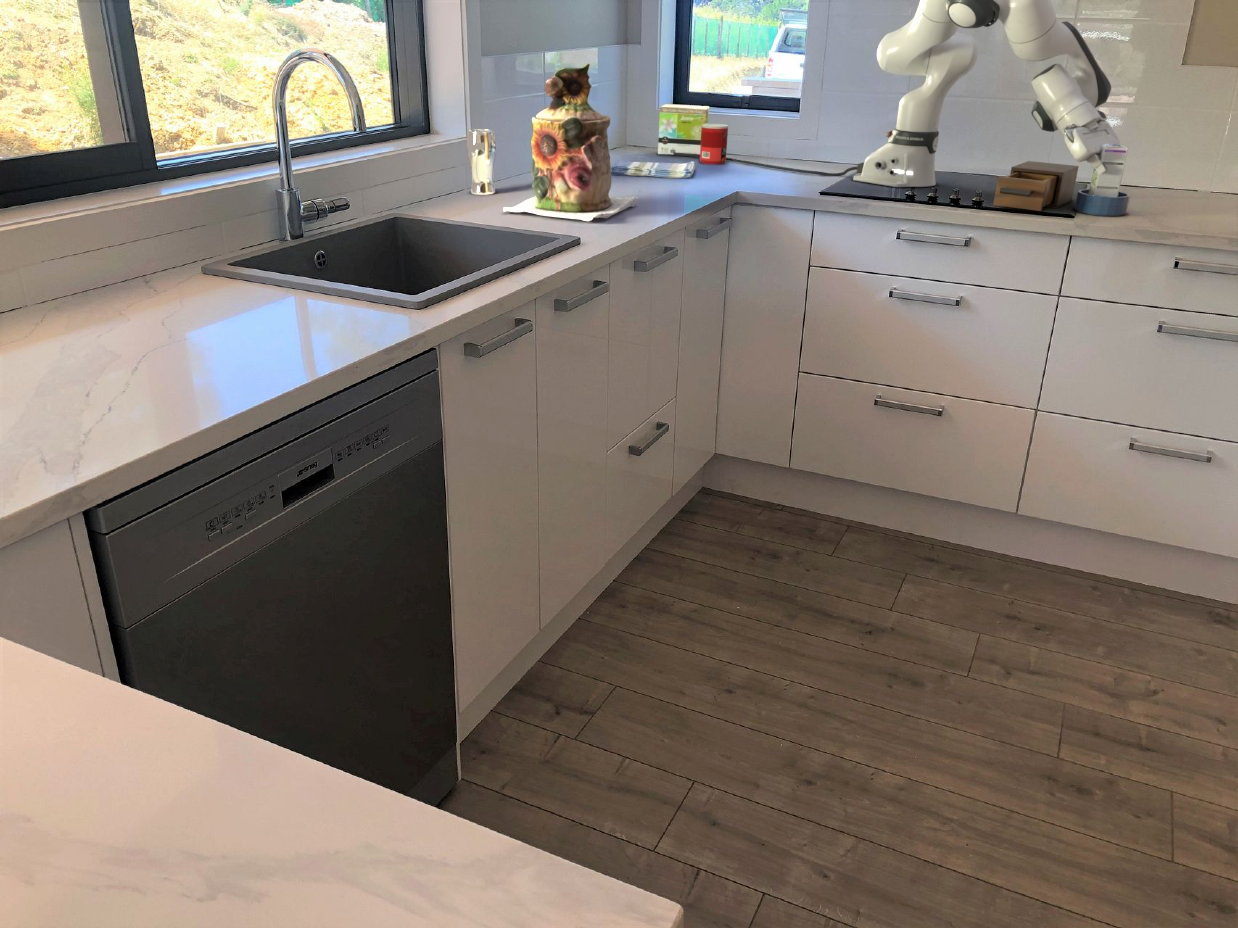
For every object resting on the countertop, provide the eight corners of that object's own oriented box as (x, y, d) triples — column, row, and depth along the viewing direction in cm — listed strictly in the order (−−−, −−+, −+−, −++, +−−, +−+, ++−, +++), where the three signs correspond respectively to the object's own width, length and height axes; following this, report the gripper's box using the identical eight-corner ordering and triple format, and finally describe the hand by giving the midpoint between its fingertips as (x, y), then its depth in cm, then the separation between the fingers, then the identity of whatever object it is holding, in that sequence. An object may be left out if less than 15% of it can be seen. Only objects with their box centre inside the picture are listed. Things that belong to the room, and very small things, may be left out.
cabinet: (1056, 208, 251) (1063, 172, 247) (1005, 201, 257) (1011, 167, 254) (1071, 200, 261) (1078, 166, 258) (1022, 194, 268) (1028, 161, 264)
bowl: (1069, 212, 246) (1072, 193, 244) (1081, 205, 254) (1084, 187, 253) (1119, 218, 240) (1124, 199, 238) (1130, 211, 248) (1134, 193, 246)
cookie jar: (547, 197, 250) (546, 58, 236) (640, 206, 241) (644, 63, 228) (499, 214, 229) (495, 63, 216) (598, 225, 221) (600, 68, 207)
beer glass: (485, 189, 258) (483, 128, 252) (502, 193, 254) (501, 131, 248) (463, 192, 254) (461, 130, 248) (480, 196, 249) (478, 133, 243)
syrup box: (1115, 209, 244) (1130, 147, 238) (1089, 208, 245) (1104, 146, 239) (1110, 205, 249) (1124, 144, 243) (1084, 203, 250) (1098, 142, 244)
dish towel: (692, 179, 280) (692, 169, 278) (608, 175, 283) (608, 165, 282) (697, 170, 295) (697, 160, 294) (618, 166, 298) (618, 156, 297)
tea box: (657, 155, 321) (658, 106, 315) (661, 151, 330) (662, 103, 324) (704, 157, 319) (706, 108, 313) (706, 153, 328) (709, 105, 322)
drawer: (1035, 213, 238) (1041, 184, 236) (987, 207, 244) (992, 178, 242) (1056, 203, 251) (1061, 175, 249) (1009, 197, 257) (1014, 170, 255)
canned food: (726, 164, 306) (729, 126, 301) (700, 164, 306) (702, 126, 301) (724, 161, 313) (727, 124, 308) (699, 160, 313) (700, 123, 308)
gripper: (1072, 118, 236) (1105, 166, 234) (1107, 112, 249) (1138, 158, 247) (1050, 135, 240) (1082, 183, 238) (1085, 129, 254) (1115, 174, 252)
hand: (1111, 170), depth 243 cm, fingers closed on syrup box, 7 cm apart
